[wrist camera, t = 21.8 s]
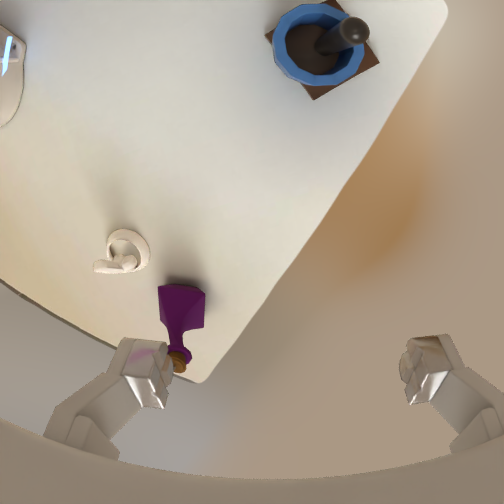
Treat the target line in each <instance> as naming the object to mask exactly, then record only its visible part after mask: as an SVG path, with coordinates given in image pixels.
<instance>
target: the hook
mask: <svg viewBox="0 0 504 504" xmlns="http://www.w3.org/2000/svg"><path fill="white" fill-rule="evenodd" d="M116 240H126V241H129V242H130V243H132V244H133V245H134V246H135V247H136V248H137V249H138V251H139V253H140V256H141V262H140V265H139V266H138V267H137V268H135V266H136V265H137V260H136V258H135V257H134V256H133V255H129V256H124V255H123V254H119V255H116V256H115V257H114V258H113V257H112V255H111V253H110V249H109V248H110V245H111V243H112V242H114V241H116ZM106 251H107V256H108V259H109V260H97V261H95V262H94V265H93V271H94V272H98V273H111V274H119V273H123V272H136V271H138V270H140V269H142V268H144V267H145V266H146V265H147V264H148V261H149V258H150V251H149V247H148V245H147V243H146V241H145V240H144V239H143V238H142V237H141V236H140V235H139V234H137V233H136V232H134V231H131V230H128V229H119V230H116V231H114V232H113V233H112V234H110V236H109V237H108V240H107V245H106Z"/></svg>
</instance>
